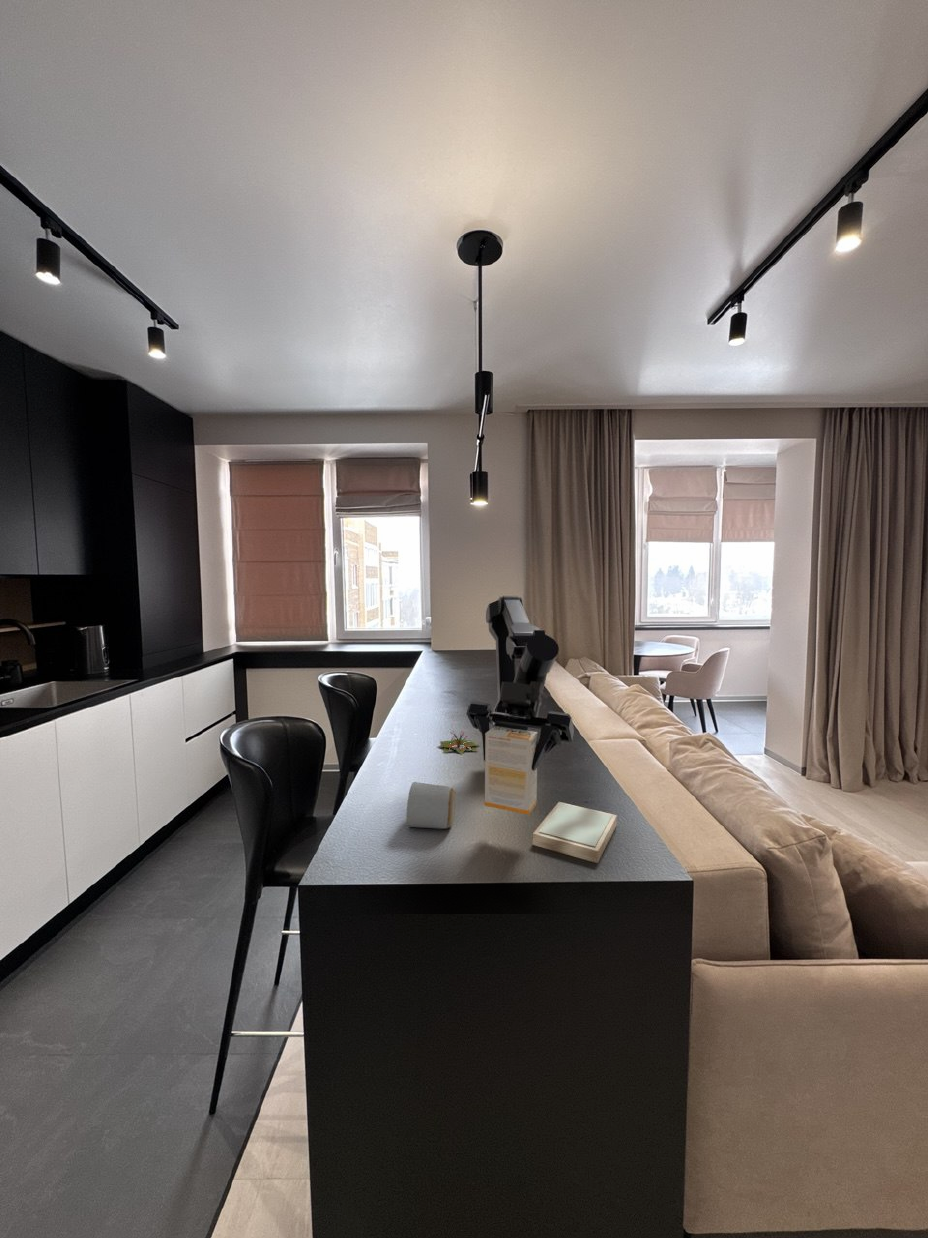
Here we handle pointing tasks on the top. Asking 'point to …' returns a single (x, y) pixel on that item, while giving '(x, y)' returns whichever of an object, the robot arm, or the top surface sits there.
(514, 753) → the supplement box
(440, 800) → the ceramic mug
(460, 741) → the lily flower
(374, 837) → the top surface
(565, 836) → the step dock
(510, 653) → the robot arm
